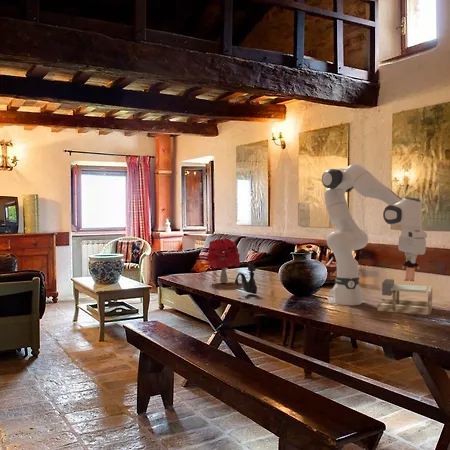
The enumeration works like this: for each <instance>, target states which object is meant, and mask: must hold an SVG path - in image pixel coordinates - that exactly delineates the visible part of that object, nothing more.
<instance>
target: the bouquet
mask: <svg viewBox="0 0 450 450" xmlns="http://www.w3.org/2000/svg"><path fill="white" fill-rule="evenodd" d="M208 244H209V246H208V253H207V257H206V258H207V259H206V260H207V261H208V265H209V266H210V267H212V268H213V269H221V272H220V277H219V283H225V284H226V283H228V279H229V278H228V275H227V270H226V268H228V267H232V266H233V267H234V268H239V267H240V263H241V259H240V257H241V254H240V253H239V248H238V246H237V244H236V242H235V241H234V240H232V239H229V238H226V237H224V238H220V239H219V238H218V239H214V240H211V241H209V243H208Z"/></svg>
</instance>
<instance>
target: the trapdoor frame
mask: <svg viewBox="0 0 450 450" xmlns="http://www.w3.org/2000/svg"><path fill="white" fill-rule="evenodd" d="M378 311H379V312H387V313H402V314H414V315H423V316H425V315H426V316H427V315H428V316H431V314H432V311H433V285H429V286H428V289H427V300H425V301H423V300H410V299H400V291H396V290H393V293H392V298H381V304H377V312H378Z"/></svg>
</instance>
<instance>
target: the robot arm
mask: <svg viewBox="0 0 450 450" xmlns="http://www.w3.org/2000/svg"><path fill="white" fill-rule="evenodd" d="M321 183H322V186H323V187H325V188H326V189H325V191H324V194H323V195H324V204H325V207H326V210H327V211H326V212H327V215H328V218H329V221H330V223H331V224H332V226H335V227H336V228H337V230H335V231H332V232H329V234H328V235H327V236H326V245H327V247H328V248H329V249H330V251H331V252H332V253H333V255H334V259H335V261H336V263H335V264H337V270H336V277H335V278H336V282H335V283H334V285H333V287H332V288H331V289H329V295H331V296H328V297H327V301H328V302H329V304H330V305H342V306H358V305H361V304H365V303H366V301H365V300H363V289H362V287H361V286H360V277H359V262H358V260H356V258H355V257H354V256H353V251H357V250H361V249H363V248H364V249H365V247H366V246H367V245H368V243H369V238H368V234H367V233H366V232H365V231H363V230H362V229H361V228H360V227H359V226H358V224H357V222H355V220H354V219H353V216H352V215H351V212H350V211H351V210H350V208H349V205H348V203H347V199H346V196H345V195H346V193H350V192H351V191H352V190H353V189H354V190H355V191H356V193H358V194H360V195H361V196H363V197H365V198H371V199H375V200H376V199H377V200H380V201H382V202H384V203H385V204H387V206H385V208H384V209H383V212H382V216H383V220H384V222H385V223H386V224H387V225H391V226H392V225H393V226H396V225H397V226H398V225H400V227H401V228H400V229H401V230H400V231H401V233H400V235H399V236H398V244H397V245H398V246H397V248H398V251H400V252H403V253H404V255H405V262H407V261H409V260H408V254H411V256H412V258H411V259H410V262H411V263H417V262H416V260H417V257H418V256H419V255H420V256H422V255H425V254H426V252H427V251H426V249H427V240H426V238H427V237H428V235H427V234H428V233H427V232H426V231H425V230H424V229H423V225H422V218H423V205H422V201H421V200H420V199H419V198H416V197H410V196H406V197H403V198H401V197H400V196H399V195H397V194H396V193H395V192H394V191H392V190H391V189H390V187H388V186H386V185H385V184H383V183H382V182H381V181H380V180H379V179H378V178H376V177H375V175H373V174H372V173H371V172H370V171H369V170H368V169H367V168H366V167H364V166H362V165H361V164H359V163H352V164H350V165H348V166H347V167H346V168H331V169H327V170H325V171H324V172H323V174H322V176H321Z"/></svg>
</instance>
